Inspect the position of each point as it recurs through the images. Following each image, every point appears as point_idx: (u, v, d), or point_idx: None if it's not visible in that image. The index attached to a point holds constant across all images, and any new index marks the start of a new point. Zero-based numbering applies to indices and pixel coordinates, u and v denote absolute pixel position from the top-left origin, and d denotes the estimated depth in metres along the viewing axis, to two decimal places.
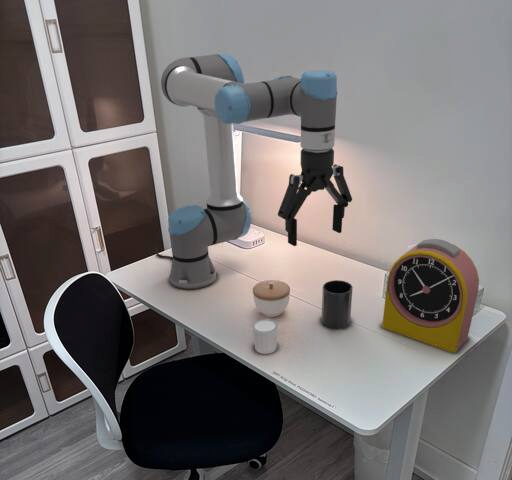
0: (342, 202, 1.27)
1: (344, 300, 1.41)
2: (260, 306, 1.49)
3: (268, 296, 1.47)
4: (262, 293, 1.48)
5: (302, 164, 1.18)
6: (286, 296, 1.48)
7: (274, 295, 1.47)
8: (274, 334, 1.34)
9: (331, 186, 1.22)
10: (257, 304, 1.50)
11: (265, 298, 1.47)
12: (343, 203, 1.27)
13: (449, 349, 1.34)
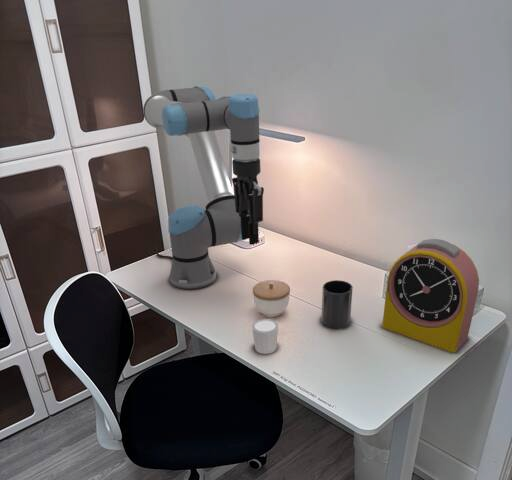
0: (250, 218, 1.46)
1: (344, 300, 1.41)
2: (260, 306, 1.49)
3: (268, 296, 1.47)
4: (262, 293, 1.48)
5: None
6: (286, 296, 1.48)
7: (274, 295, 1.47)
8: (274, 334, 1.34)
9: (245, 196, 1.43)
10: (257, 304, 1.50)
11: (265, 298, 1.47)
12: (250, 220, 1.46)
13: (449, 349, 1.34)
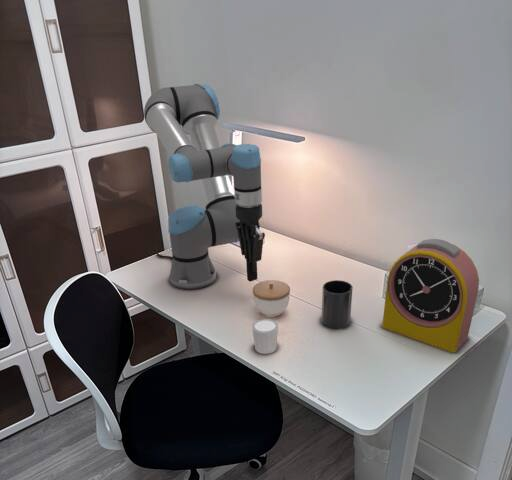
0: (249, 257, 1.54)
1: (344, 300, 1.41)
2: (260, 306, 1.49)
3: (268, 296, 1.47)
4: (262, 293, 1.48)
5: None
6: (286, 296, 1.48)
7: (274, 295, 1.47)
8: (274, 334, 1.34)
9: (247, 238, 1.50)
10: (257, 304, 1.50)
11: (265, 298, 1.47)
12: (249, 259, 1.54)
13: (449, 349, 1.34)
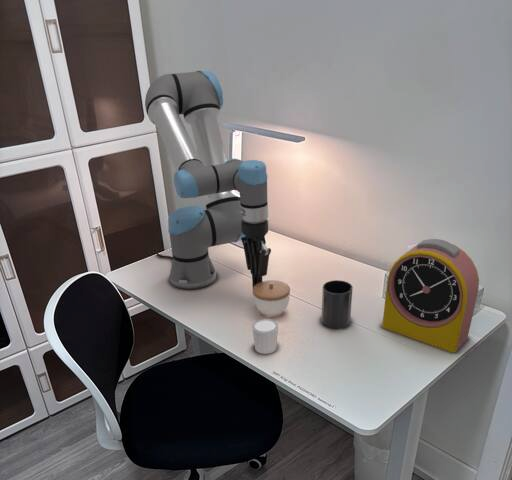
0: (255, 272, 1.53)
1: (344, 300, 1.41)
2: (260, 306, 1.49)
3: (268, 296, 1.47)
4: (262, 293, 1.48)
5: None
6: (286, 296, 1.48)
7: (274, 295, 1.47)
8: (274, 334, 1.34)
9: (252, 253, 1.50)
10: (257, 304, 1.50)
11: (265, 298, 1.47)
12: (255, 273, 1.54)
13: (449, 349, 1.34)
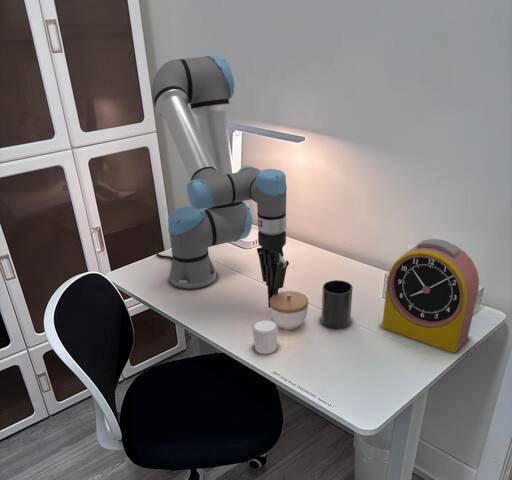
0: (271, 284, 1.48)
1: (344, 300, 1.41)
2: (277, 318, 1.43)
3: (287, 308, 1.41)
4: (280, 305, 1.42)
5: None
6: (305, 308, 1.43)
7: (293, 307, 1.41)
8: (274, 334, 1.34)
9: (269, 265, 1.44)
10: (275, 317, 1.44)
11: (284, 310, 1.41)
12: (270, 286, 1.48)
13: (449, 349, 1.34)
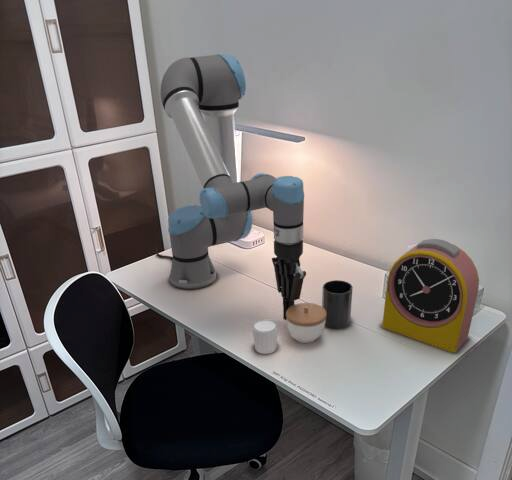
0: (287, 295, 1.42)
1: (344, 300, 1.41)
2: (294, 332, 1.37)
3: (304, 322, 1.35)
4: (297, 318, 1.36)
5: None
6: (323, 321, 1.37)
7: (311, 320, 1.35)
8: (274, 334, 1.34)
9: (285, 275, 1.38)
10: (291, 330, 1.38)
11: (302, 324, 1.35)
12: (286, 297, 1.42)
13: (449, 349, 1.34)
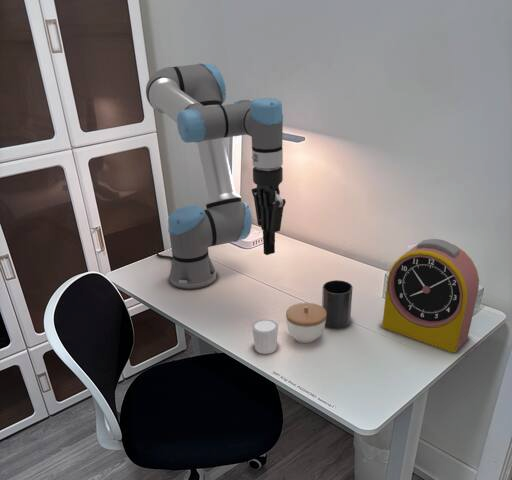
0: (267, 228, 1.39)
1: (344, 300, 1.41)
2: (294, 332, 1.37)
3: (304, 322, 1.35)
4: (297, 318, 1.36)
5: None
6: (323, 321, 1.37)
7: (311, 320, 1.35)
8: (274, 334, 1.34)
9: (265, 205, 1.35)
10: (291, 330, 1.38)
11: (302, 324, 1.35)
12: (267, 229, 1.39)
13: (449, 349, 1.34)
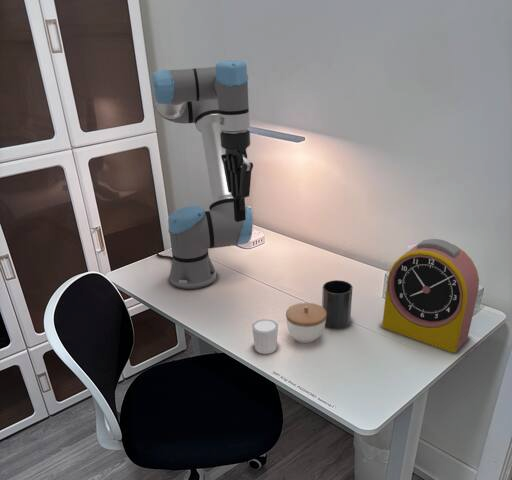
0: (236, 193, 1.39)
1: (344, 300, 1.41)
2: (294, 332, 1.37)
3: (304, 322, 1.35)
4: (297, 318, 1.36)
5: None
6: (323, 321, 1.37)
7: (311, 320, 1.35)
8: (274, 334, 1.34)
9: (233, 170, 1.36)
10: (291, 330, 1.38)
11: (302, 324, 1.35)
12: (236, 195, 1.40)
13: (449, 349, 1.34)
